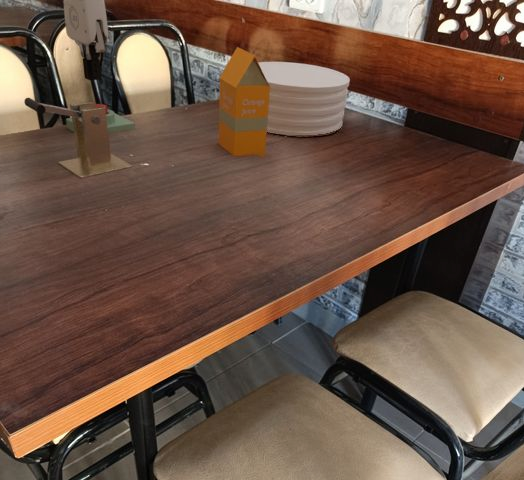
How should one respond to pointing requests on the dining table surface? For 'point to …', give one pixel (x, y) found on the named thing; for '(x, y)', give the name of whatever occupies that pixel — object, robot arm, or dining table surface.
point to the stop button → (102, 106)
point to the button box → (110, 123)
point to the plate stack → (304, 98)
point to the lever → (52, 109)
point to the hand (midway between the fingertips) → (93, 78)
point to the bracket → (92, 143)
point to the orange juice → (243, 105)
